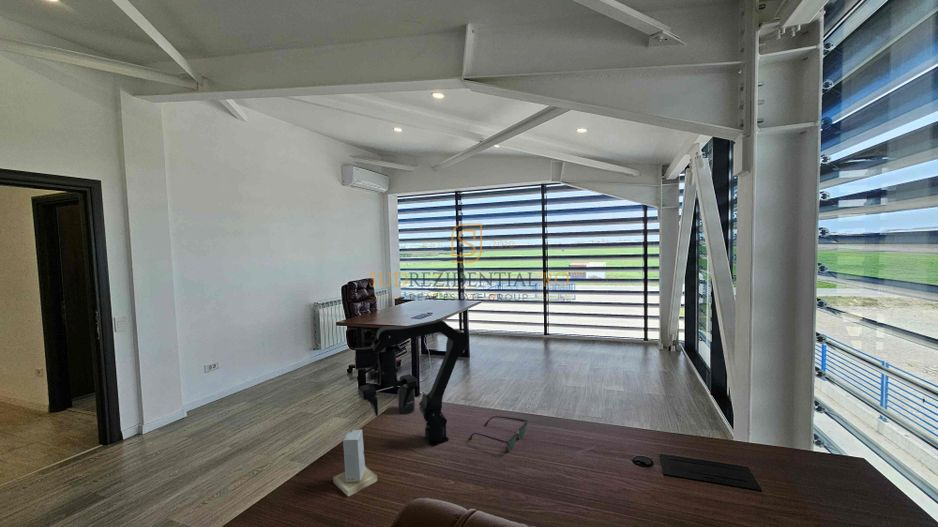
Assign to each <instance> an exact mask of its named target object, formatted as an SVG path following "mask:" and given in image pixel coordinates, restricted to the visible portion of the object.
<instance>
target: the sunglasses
mask: <svg viewBox="0 0 938 527" xmlns="http://www.w3.org/2000/svg"><path fill="white" fill-rule="evenodd" d="M493 418H501V419H506V420H512V421H513V420H514V421H519V422H523V424H522V425H521V427H520V428H519V429H518V431H517V432H515V433H514V434H513V435H512V436H511V437H510V438H509V439H508V440H503V439H501V438H500V439H499V438H496V437H492V436H489V435H487V434H486V435H485V434H482V433H478V432H473V433H472V434H471V435H470V436H469V439H470V440H473V439H472V438H473V435H477V436H482V437H484V438H488V439H491V440H495V441H498V442H500V443H503V444H507V446H508V447H507V448H508V449H507V450H508V451H509V452H511V451H513V449H514V448H515V444H516V439H517V438H518V439H519V440H521V439H522V438H523V437H524V436H525V433H526V429H527V426H528V422H529V420H528V419H523V418H515V417H509V416H500V415H499V416H497V415H496V416H495V415H494V416H491V417H490V418H488V420H487V421H486V422H484V423H485V424H484V425H485V426H484V427H487V425H488V424H489V422H490V421H491V420H492V419H493Z"/></svg>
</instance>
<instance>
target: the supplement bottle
mask: <svg viewBox="0 0 938 527" xmlns="http://www.w3.org/2000/svg"><path fill="white" fill-rule="evenodd" d="M415 399H416V396H415V388H414V389H413V390H412V391H411V393H410V394H409V396H408V399H407V401H406V403H405V406H404V408H402V407H401V389H400V388H399V389H398V390H397V404H398V405H397V408H398V413H400V414H402V415H407V414H412V413H413V412H415V409H416V408H415V407H416V405H415V404H416V402H415V401H416V400H415Z"/></svg>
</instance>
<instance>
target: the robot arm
mask: <svg viewBox="0 0 938 527" xmlns="http://www.w3.org/2000/svg"><path fill="white" fill-rule="evenodd" d="M436 333H441V334H442V335H444V336H445V337H447V339H446V343H445V344H446V345H445V354H444V357H443V359H442V361H441V364H440V367H439V369H438V371H437V374H436V376H435V380H434V382H433V384H432V386H431V390H430V391H429V392H428V393H427V394H426V393H422V396H421V400H420V402H419V403H418V406H419V412H420V414H421V416H422V417H423V419H424V421H425V428H424V434H425V435H424V440H425V441H426V442H428V444H429V445H431V446H432V447H435V446H438V445H440V444H442V443H445V442H448V441H449V440H450V438H449V437H448V436H447V422H448V420H447V418H446V416H445V415H444V414H443V412H442V408H443V396H444V394H445V393H446V392H445V391H446V389H447V386H448V384H449V381H450V379H451V376H452V374H453V371H454V368H455V366H456V364H457V361H458V358H459V357H460V356H461V355H462V354H464V352H465V351H466V348H468V345H469V342H470V338H469V336H468V334H466V333H465V332H463V331H462V330H460V329H455V328H453V327H452V326H450V324H447V322H445V320H443V319H440V318H438V319H435V320H431V321H426V322H420V323H415V324H409V325H404V326H399V325H397V326H396V325H384V326H382V327H380V328H379V329H378V330H377V333H376V337H375V339H374V340H373V341H372V344H371V345H370V346H368V347H356V348H355V349H354V351H355V352H354V354H355V355H354V367H355V371H359V370H365V369H371V370H368V371H367V378H368V381H373V382H374V383H376V384H378V385H375V386H373V385H372V384H371V383H369V384H365V385H361V386H359V387H358V391H357V393H358V394H357V395H358V396H359V397H360V398H361V399H362V400H363V401H367V402H369V403H370V405H371V408H372V411H373V413H374V415H375V417H378V415H379V408H378V407H379V406H378V397H376V396H377V393H380V392H384V391H387V390H390V389H394V388H398V387H399V389H401V407H402V408H404V406H405V403H406V401H407V399H408V396H409V394H410V393H411V391H412V390H413V389H414V390H415V387H418V379H417V377H415V376H414V375H412V374H410V373H408V374H403V375H401V376H400V377H399V380H398V373H399V368H398V367H397V366H398V365H397V352H402V351H403V349H402V347H401V346H400V345H398V344H400V343H401V342H403V341H405V340H408V339H411V338H417V337H418V338H419V337H421V336H427V335H431V334H436ZM377 357H378V358H377ZM377 364H378V367H377V371H375V369H374V367H375V366H376V365H377ZM372 368H373V369H372Z"/></svg>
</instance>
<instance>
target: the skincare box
mask: <svg viewBox="0 0 938 527" xmlns="http://www.w3.org/2000/svg"><path fill="white" fill-rule="evenodd" d="M342 444H343V446H342V447H343V457H344V460H343V461H344V462H343V463H344V472H345V478H346V482H360V481H361V479H362V477H363V474H364V471H365V467H366V462H365V449H364V435H363V429H354V430H348V431H347V433H346V434H345V436H344V439H343V441H342Z"/></svg>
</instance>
